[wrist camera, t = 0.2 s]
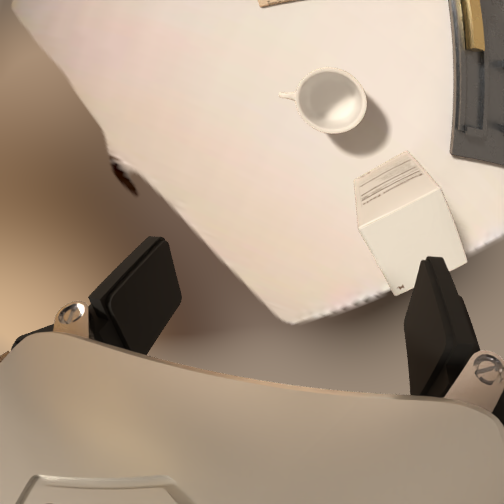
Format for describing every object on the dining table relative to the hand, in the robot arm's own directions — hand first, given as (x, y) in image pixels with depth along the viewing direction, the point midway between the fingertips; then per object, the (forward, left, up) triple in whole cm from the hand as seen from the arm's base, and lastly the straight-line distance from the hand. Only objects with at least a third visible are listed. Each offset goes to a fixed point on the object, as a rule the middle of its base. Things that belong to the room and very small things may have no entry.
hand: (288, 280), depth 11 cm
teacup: (-5, 0, -31) cm, 32 cm away
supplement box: (+7, +10, -31) cm, 34 cm away
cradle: (-12, +27, -31) cm, 43 cm away
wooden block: (-19, +19, -30) cm, 40 cm away
